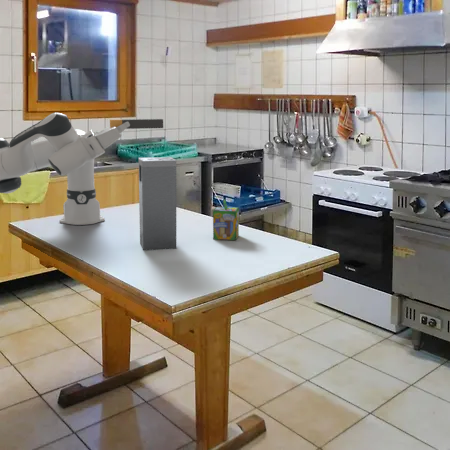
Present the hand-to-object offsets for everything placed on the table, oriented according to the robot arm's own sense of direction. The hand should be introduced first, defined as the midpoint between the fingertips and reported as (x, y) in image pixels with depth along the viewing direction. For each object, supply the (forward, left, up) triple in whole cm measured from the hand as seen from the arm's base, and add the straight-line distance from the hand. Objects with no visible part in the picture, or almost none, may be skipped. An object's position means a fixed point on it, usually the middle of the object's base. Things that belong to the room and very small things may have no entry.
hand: (128, 122), depth 200 cm
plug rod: (0, +3, -2) cm, 3 cm away
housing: (-1, +10, -45) cm, 46 cm away
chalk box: (-9, +38, -45) cm, 60 cm away
